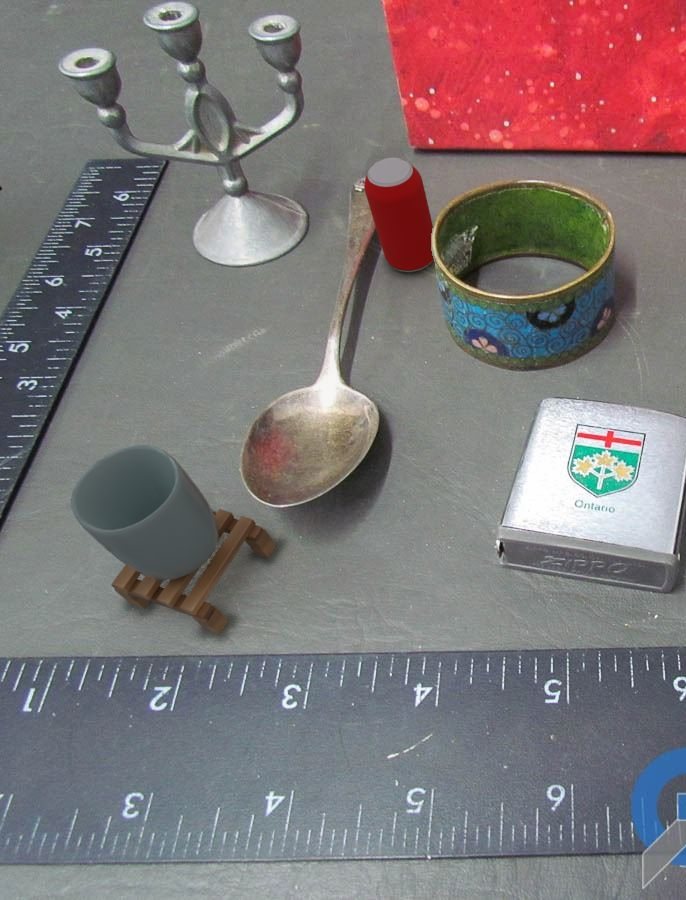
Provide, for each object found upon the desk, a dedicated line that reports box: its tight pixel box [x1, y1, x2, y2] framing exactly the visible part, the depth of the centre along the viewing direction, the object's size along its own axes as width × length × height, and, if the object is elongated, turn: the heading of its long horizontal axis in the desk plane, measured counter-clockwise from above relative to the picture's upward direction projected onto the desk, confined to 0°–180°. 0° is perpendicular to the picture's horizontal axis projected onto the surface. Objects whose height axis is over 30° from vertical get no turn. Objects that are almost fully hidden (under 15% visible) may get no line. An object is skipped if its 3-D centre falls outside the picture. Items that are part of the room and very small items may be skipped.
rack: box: [110, 508, 277, 636], centre depth 71 cm, size 9×9×4 cm
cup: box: [70, 444, 219, 581], centre depth 65 cm, size 8×8×10 cm
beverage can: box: [363, 157, 434, 273], centre depth 91 cm, size 6×6×12 cm
